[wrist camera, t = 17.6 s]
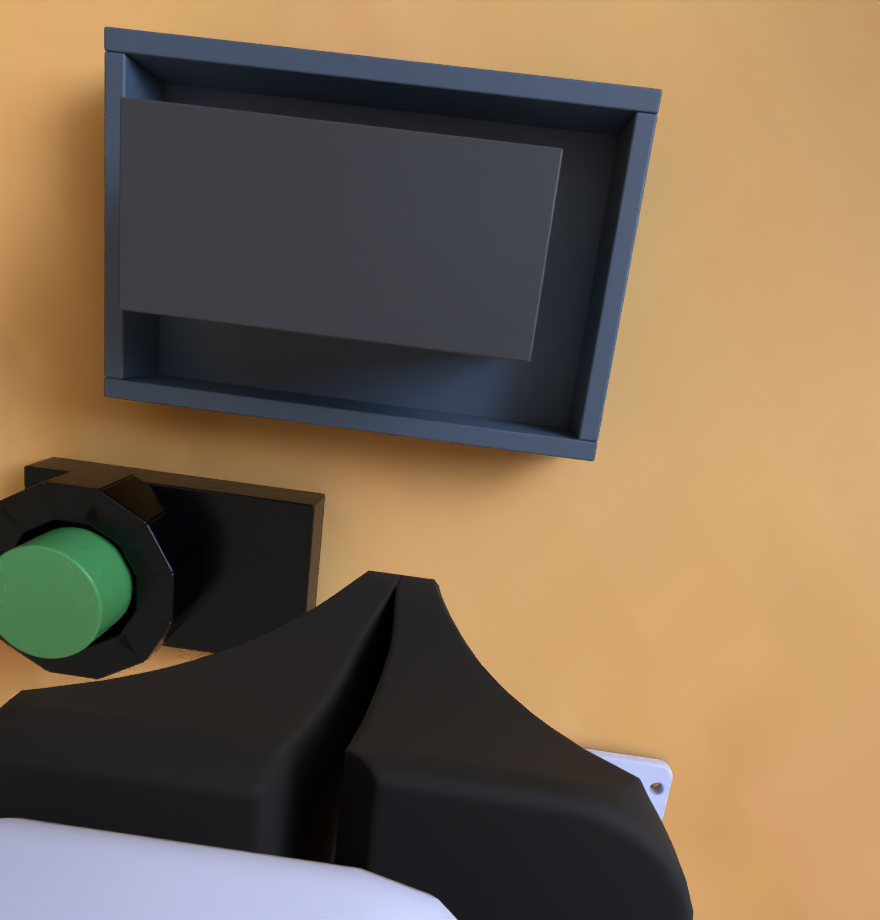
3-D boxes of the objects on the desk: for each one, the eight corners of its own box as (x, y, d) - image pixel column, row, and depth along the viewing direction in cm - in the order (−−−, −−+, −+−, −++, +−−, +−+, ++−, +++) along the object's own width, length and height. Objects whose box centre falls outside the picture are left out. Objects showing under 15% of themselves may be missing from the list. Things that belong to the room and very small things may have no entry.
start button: (133, 638, 20) (100, 668, 18) (26, 623, 20) (-16, 650, 18) (134, 534, 19) (101, 555, 17) (23, 519, 19) (-22, 537, 17)
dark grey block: (514, 352, 20) (530, 362, 14) (222, 314, 20) (117, 309, 14) (537, 203, 19) (563, 147, 13) (228, 166, 19) (118, 95, 13)
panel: (312, 651, 23) (283, 707, 20) (50, 613, 23) (-24, 662, 20) (326, 486, 22) (297, 516, 18) (46, 448, 22) (-34, 471, 18)
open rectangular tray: (580, 445, 21) (594, 461, 18) (146, 388, 21) (103, 396, 19) (638, 120, 18) (663, 89, 16) (151, 64, 19) (103, 25, 17)
